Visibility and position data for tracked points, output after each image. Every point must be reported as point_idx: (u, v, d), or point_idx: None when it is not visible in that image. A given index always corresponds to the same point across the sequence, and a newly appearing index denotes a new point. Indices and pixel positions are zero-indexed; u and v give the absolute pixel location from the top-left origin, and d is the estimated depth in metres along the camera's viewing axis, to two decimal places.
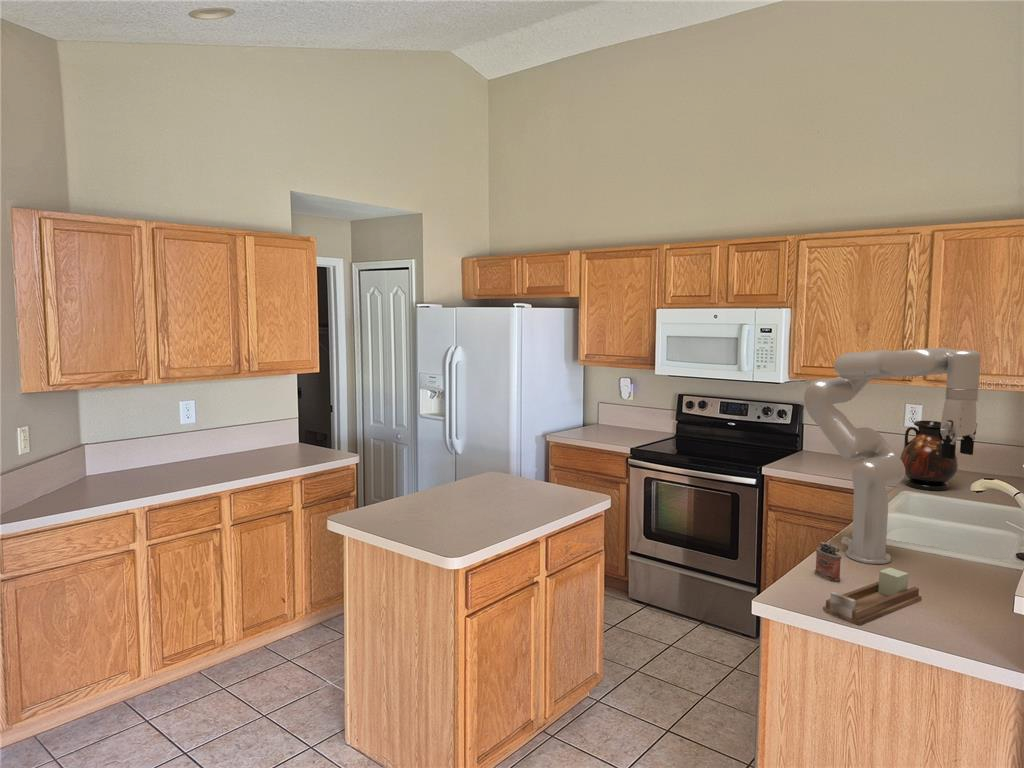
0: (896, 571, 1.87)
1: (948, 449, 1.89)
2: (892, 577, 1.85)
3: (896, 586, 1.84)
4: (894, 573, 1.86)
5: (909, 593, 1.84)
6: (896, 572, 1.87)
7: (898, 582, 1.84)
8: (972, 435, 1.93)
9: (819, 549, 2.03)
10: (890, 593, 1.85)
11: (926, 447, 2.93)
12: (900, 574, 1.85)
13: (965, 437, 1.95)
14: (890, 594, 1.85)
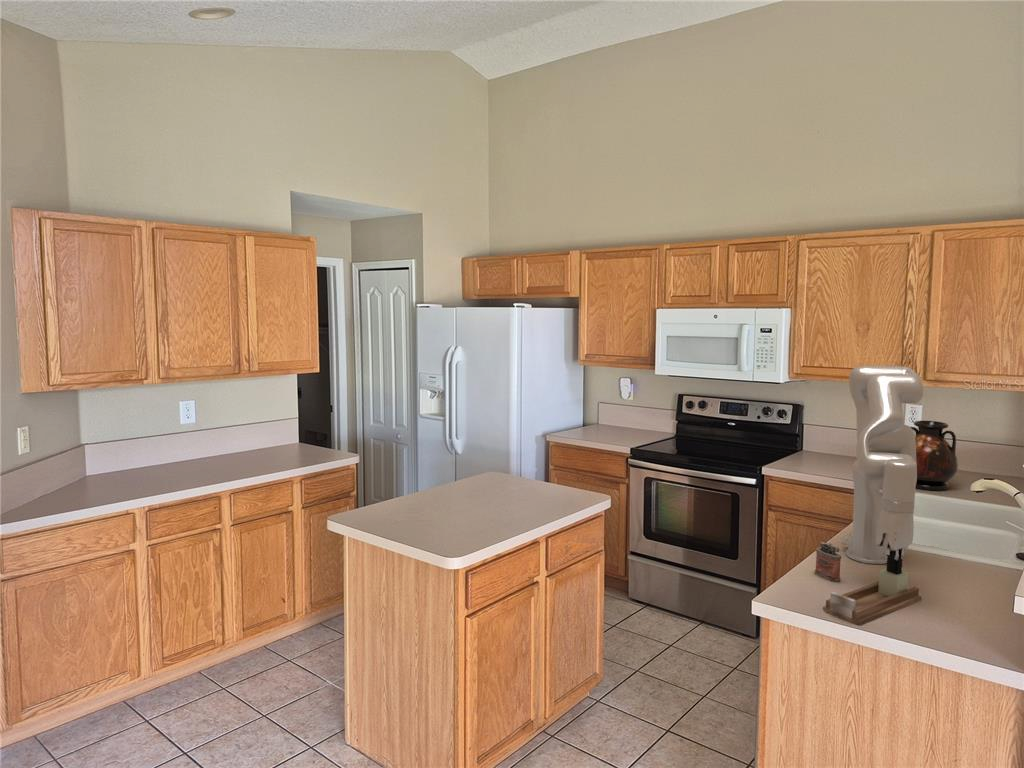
0: None
1: (892, 564, 1.85)
2: (892, 577, 1.85)
3: (896, 586, 1.84)
4: None
5: (909, 593, 1.84)
6: None
7: (898, 582, 1.84)
8: (902, 551, 1.85)
9: (819, 549, 2.03)
10: (890, 593, 1.85)
11: (926, 447, 2.93)
12: (900, 574, 1.85)
13: None
14: (890, 594, 1.85)
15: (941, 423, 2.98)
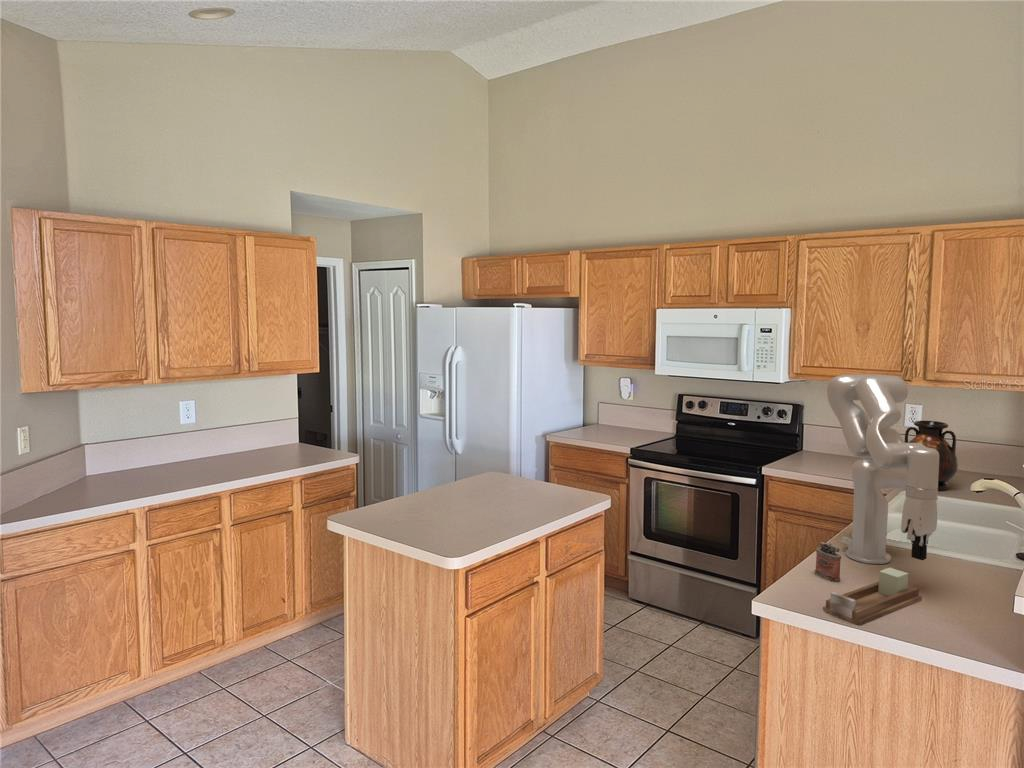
0: (896, 571, 1.87)
1: (917, 550, 1.90)
2: (892, 577, 1.85)
3: (896, 586, 1.84)
4: (894, 573, 1.86)
5: (909, 593, 1.84)
6: (896, 572, 1.87)
7: (898, 582, 1.84)
8: (927, 537, 1.90)
9: (819, 549, 2.03)
10: (890, 593, 1.85)
11: None
12: (900, 574, 1.85)
13: None
14: (890, 594, 1.85)
15: (941, 423, 2.98)
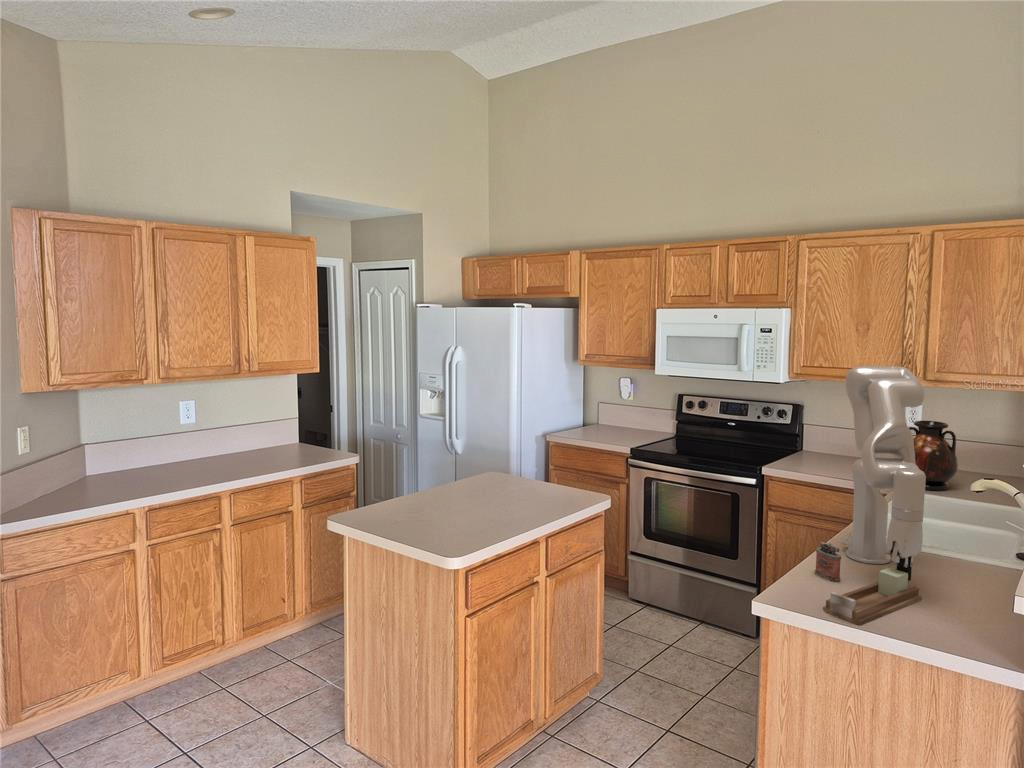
0: (896, 571, 1.87)
1: None
2: (892, 577, 1.84)
3: (896, 586, 1.84)
4: (894, 573, 1.86)
5: (909, 593, 1.84)
6: (896, 572, 1.87)
7: (898, 582, 1.84)
8: (912, 559, 1.88)
9: (819, 549, 2.03)
10: (890, 593, 1.85)
11: (926, 447, 2.93)
12: (900, 574, 1.85)
13: (904, 560, 1.90)
14: (890, 594, 1.85)
15: (941, 423, 2.98)
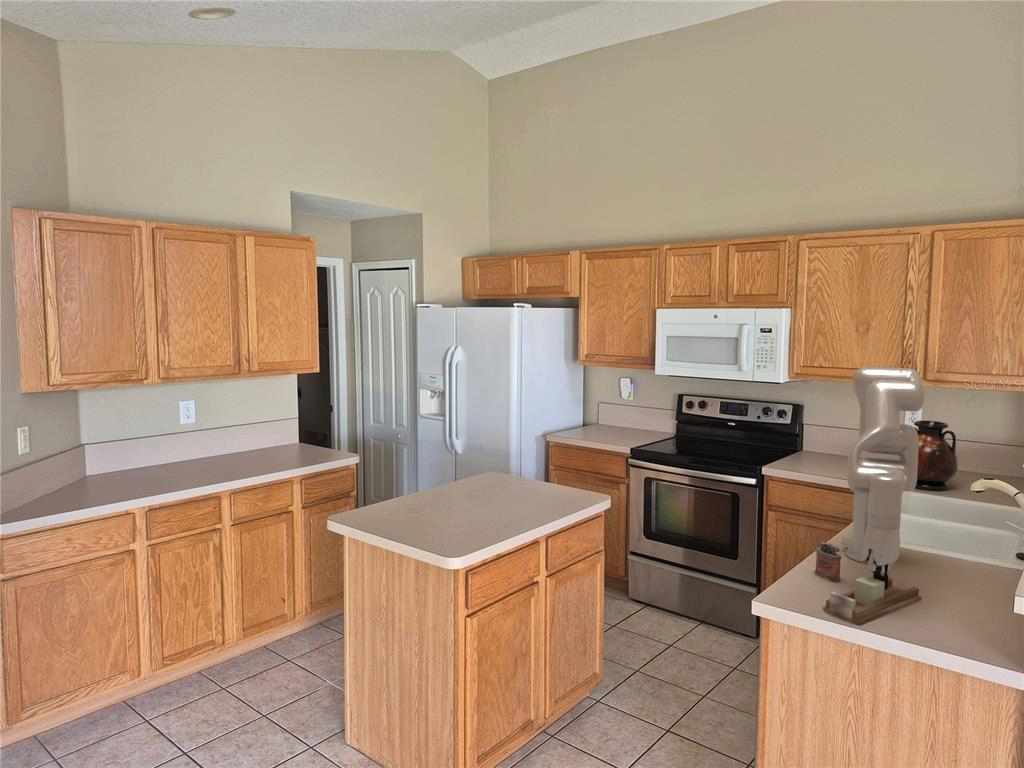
0: (872, 580, 1.82)
1: None
2: (868, 586, 1.79)
3: (872, 595, 1.78)
4: (870, 581, 1.80)
5: (909, 593, 1.84)
6: (872, 581, 1.81)
7: (874, 591, 1.78)
8: (889, 567, 1.83)
9: (819, 549, 2.03)
10: (866, 602, 1.80)
11: (926, 447, 2.93)
12: (876, 582, 1.80)
13: None
14: (866, 603, 1.80)
15: (941, 423, 2.98)
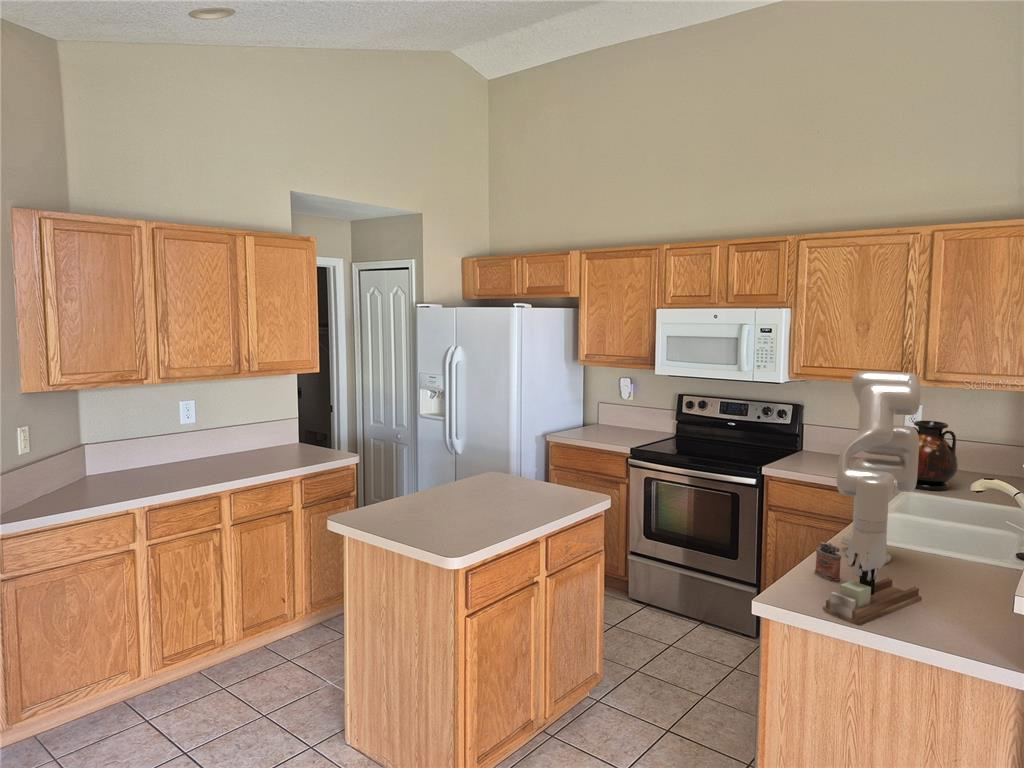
0: (858, 585, 1.78)
1: None
2: (854, 591, 1.76)
3: (858, 601, 1.75)
4: (856, 586, 1.77)
5: (909, 593, 1.84)
6: (858, 586, 1.78)
7: (860, 597, 1.75)
8: (875, 572, 1.79)
9: (819, 549, 2.03)
10: None
11: (926, 447, 2.93)
12: (863, 587, 1.77)
13: None
14: None
15: (941, 423, 2.98)
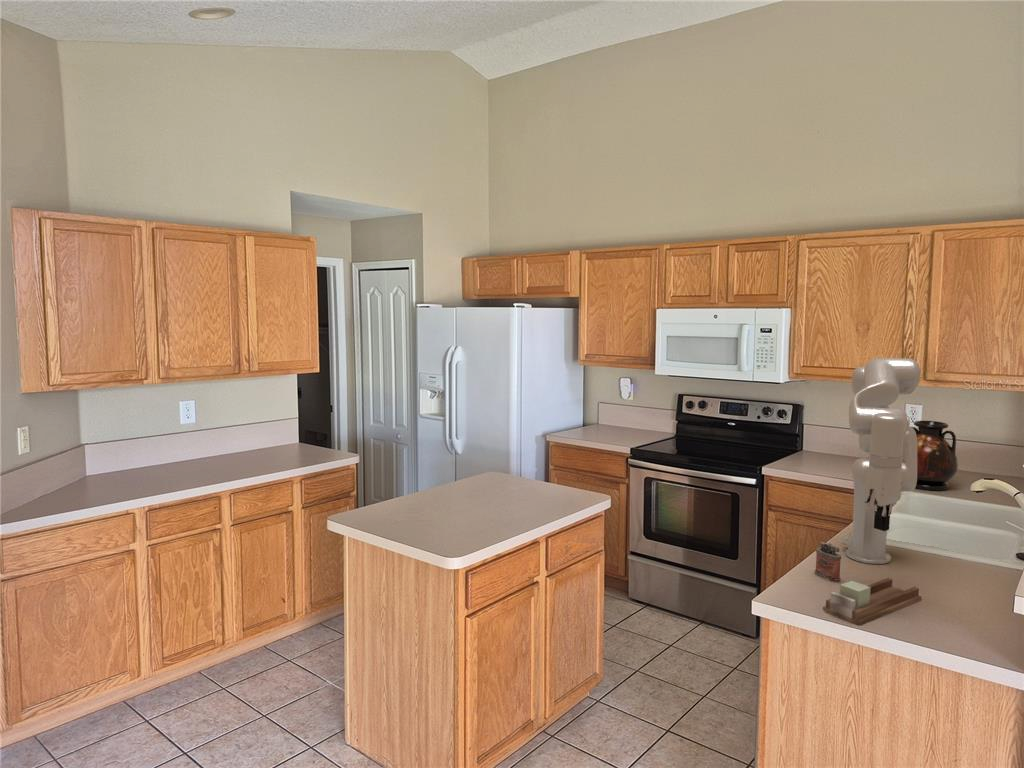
0: (858, 585, 1.78)
1: (880, 521, 1.81)
2: (853, 591, 1.76)
3: (857, 601, 1.75)
4: (856, 586, 1.77)
5: (909, 593, 1.84)
6: (858, 586, 1.78)
7: (860, 597, 1.75)
8: (890, 507, 1.81)
9: (819, 549, 2.03)
10: None
11: (926, 447, 2.93)
12: (862, 588, 1.76)
13: None
14: None
15: (941, 423, 2.98)
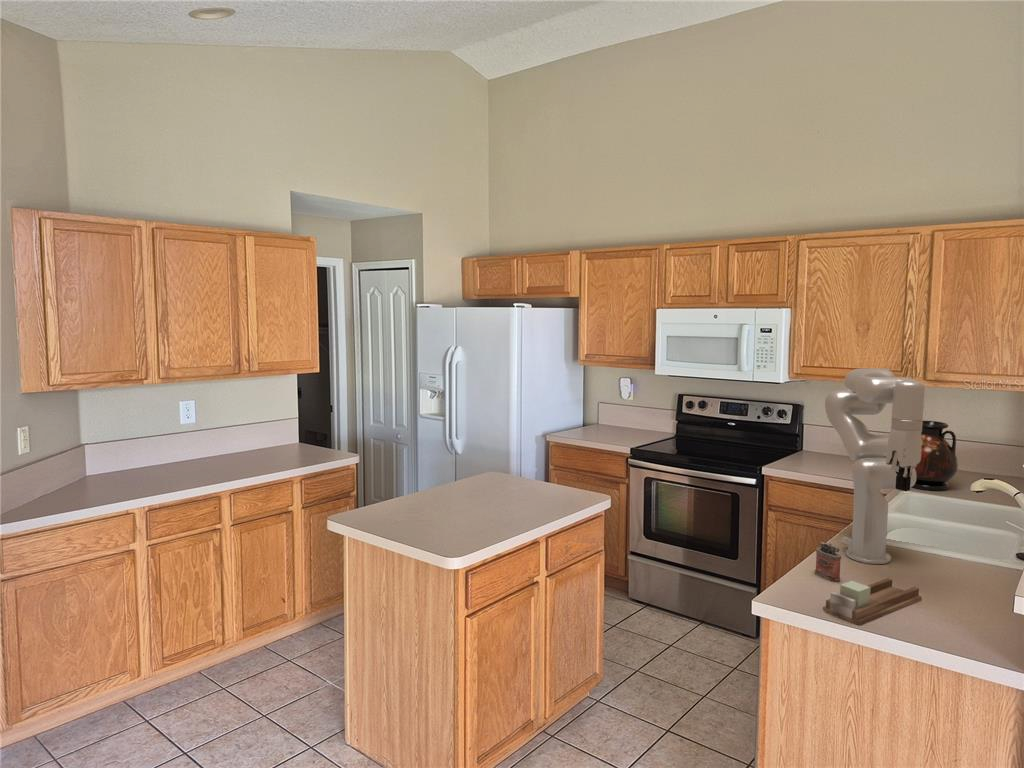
0: (858, 585, 1.78)
1: (901, 481, 1.93)
2: (853, 591, 1.76)
3: (857, 601, 1.75)
4: (856, 586, 1.77)
5: (909, 593, 1.84)
6: (858, 586, 1.78)
7: (860, 597, 1.75)
8: (911, 469, 1.93)
9: (819, 549, 2.03)
10: None
11: (926, 447, 2.93)
12: (862, 588, 1.76)
13: None
14: None
15: (941, 423, 2.98)
